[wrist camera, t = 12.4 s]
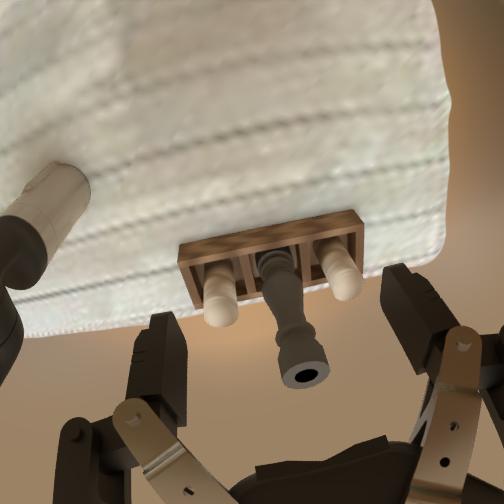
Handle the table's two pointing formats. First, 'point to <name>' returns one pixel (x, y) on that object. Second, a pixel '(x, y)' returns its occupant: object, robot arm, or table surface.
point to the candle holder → (291, 321)
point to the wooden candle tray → (249, 242)
